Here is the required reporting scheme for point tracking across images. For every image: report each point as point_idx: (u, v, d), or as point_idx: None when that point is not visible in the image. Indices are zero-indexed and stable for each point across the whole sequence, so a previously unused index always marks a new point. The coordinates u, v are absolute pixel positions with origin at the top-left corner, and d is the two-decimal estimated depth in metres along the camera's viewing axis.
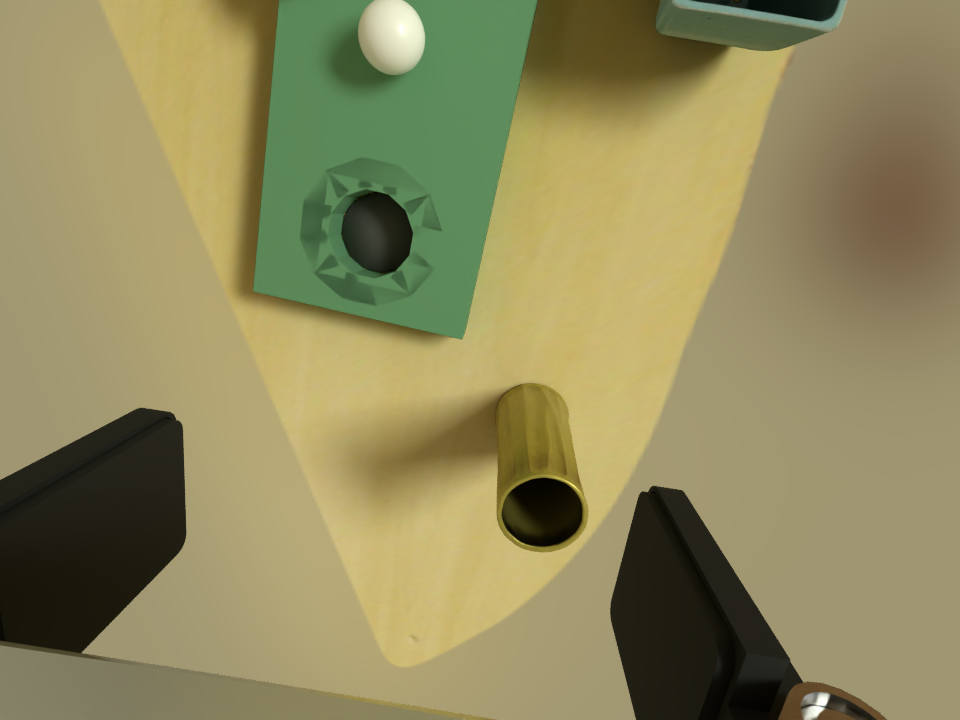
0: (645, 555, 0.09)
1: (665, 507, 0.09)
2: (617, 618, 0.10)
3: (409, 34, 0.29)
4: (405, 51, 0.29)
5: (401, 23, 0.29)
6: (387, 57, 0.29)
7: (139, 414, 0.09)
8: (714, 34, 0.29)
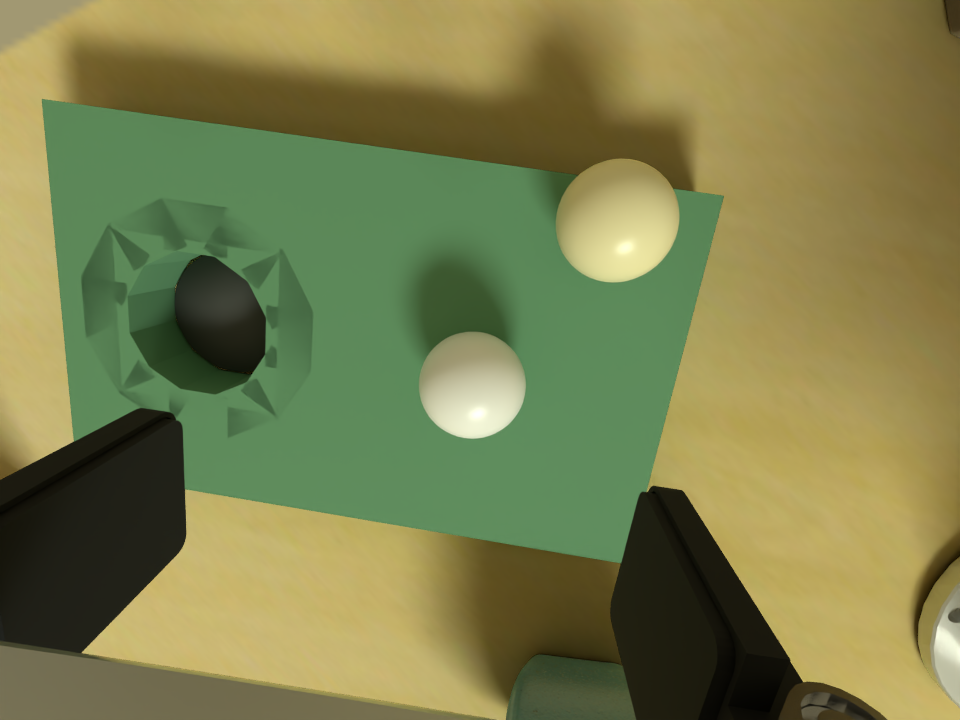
0: (645, 555, 0.09)
1: (665, 507, 0.09)
2: (618, 618, 0.10)
3: (463, 433, 0.18)
4: (440, 424, 0.18)
5: (474, 426, 0.17)
6: (428, 398, 0.18)
7: (139, 414, 0.09)
8: None
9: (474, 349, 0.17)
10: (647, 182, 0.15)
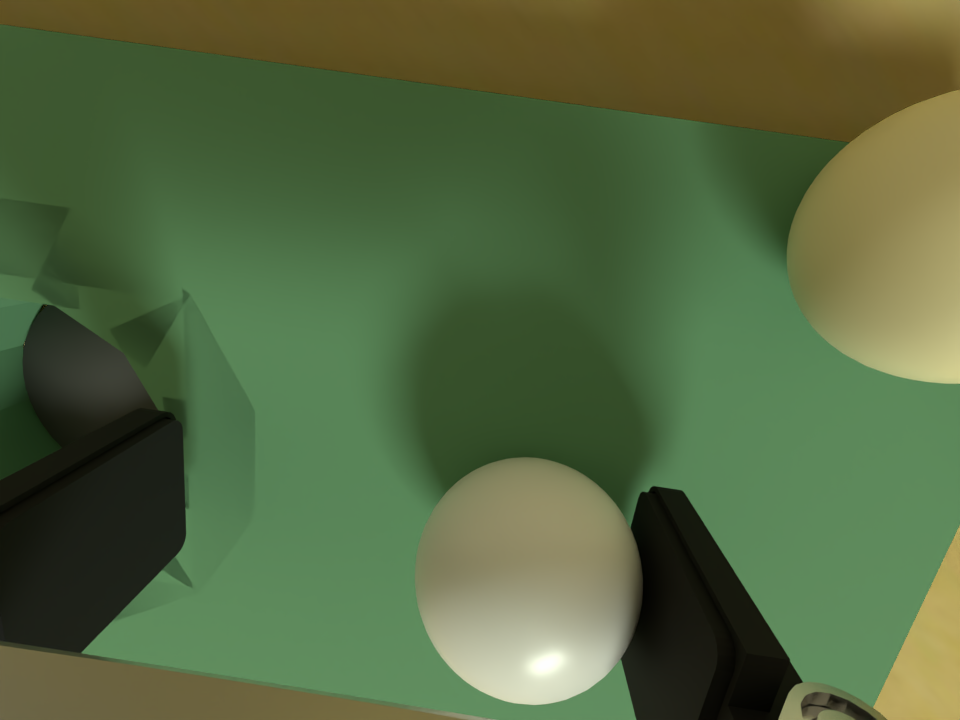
0: (645, 555, 0.09)
1: (665, 507, 0.09)
2: None
3: (474, 685, 0.08)
4: None
5: (488, 690, 0.08)
6: (415, 588, 0.09)
7: (139, 414, 0.09)
8: None
9: (509, 516, 0.08)
10: None
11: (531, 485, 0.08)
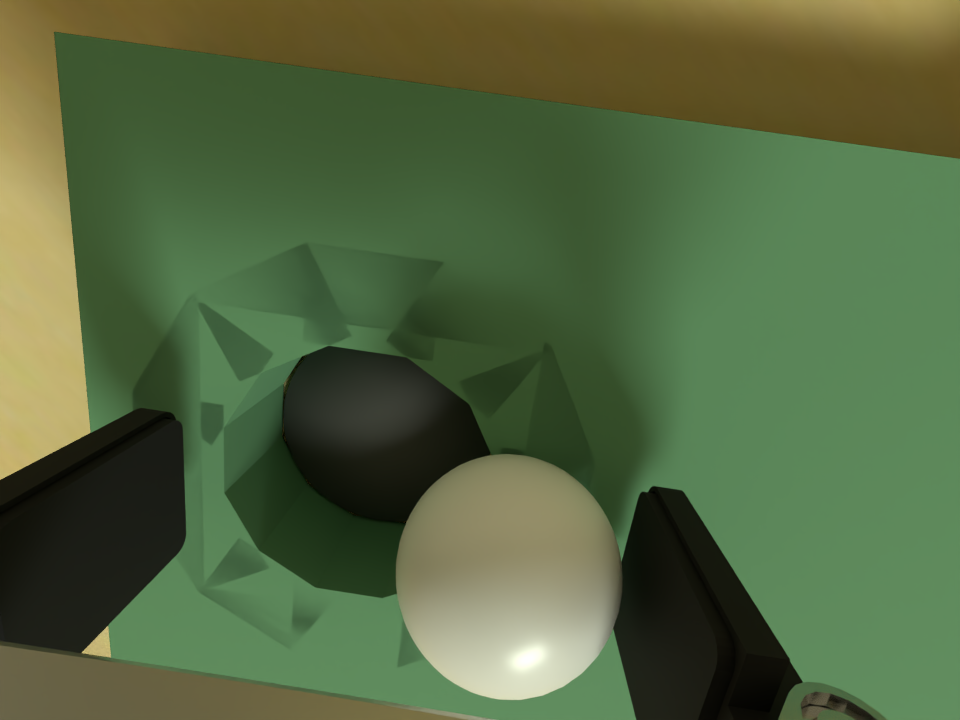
0: (645, 555, 0.09)
1: (665, 507, 0.09)
2: (618, 618, 0.10)
3: None
4: None
5: None
6: None
7: (139, 414, 0.09)
8: None
9: (557, 468, 0.09)
10: None
11: (541, 464, 0.09)
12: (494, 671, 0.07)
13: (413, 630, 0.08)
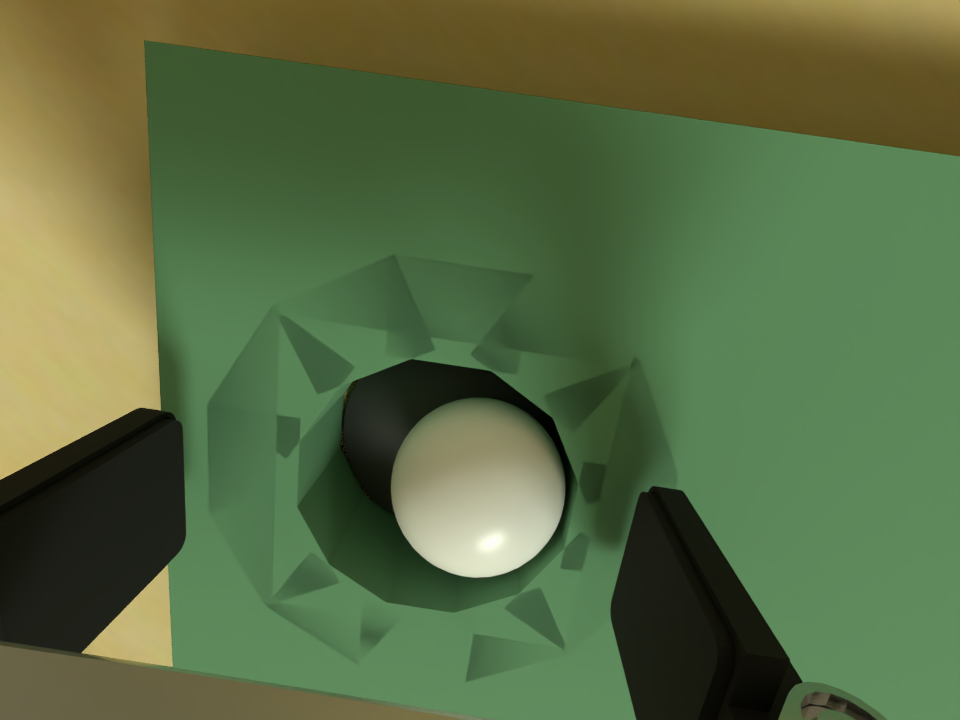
0: (645, 555, 0.09)
1: (665, 507, 0.09)
2: (617, 618, 0.10)
3: None
4: (485, 575, 0.11)
5: (540, 549, 0.11)
6: (478, 549, 0.10)
7: (139, 414, 0.09)
8: None
9: (525, 438, 0.10)
10: None
11: (505, 415, 0.11)
12: None
13: None
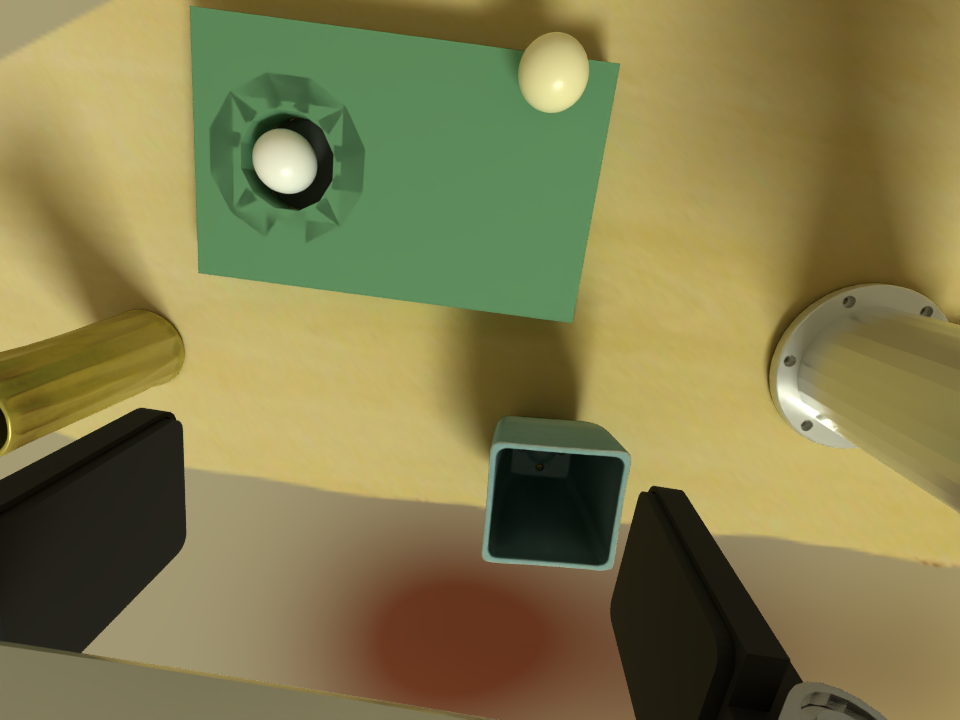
0: (645, 555, 0.09)
1: (665, 507, 0.09)
2: (617, 618, 0.10)
3: (280, 183, 0.32)
4: (267, 179, 0.32)
5: (286, 176, 0.32)
6: (257, 162, 0.32)
7: (139, 414, 0.09)
8: None
9: (281, 132, 0.31)
10: (568, 41, 0.27)
11: (284, 129, 0.32)
12: None
13: None
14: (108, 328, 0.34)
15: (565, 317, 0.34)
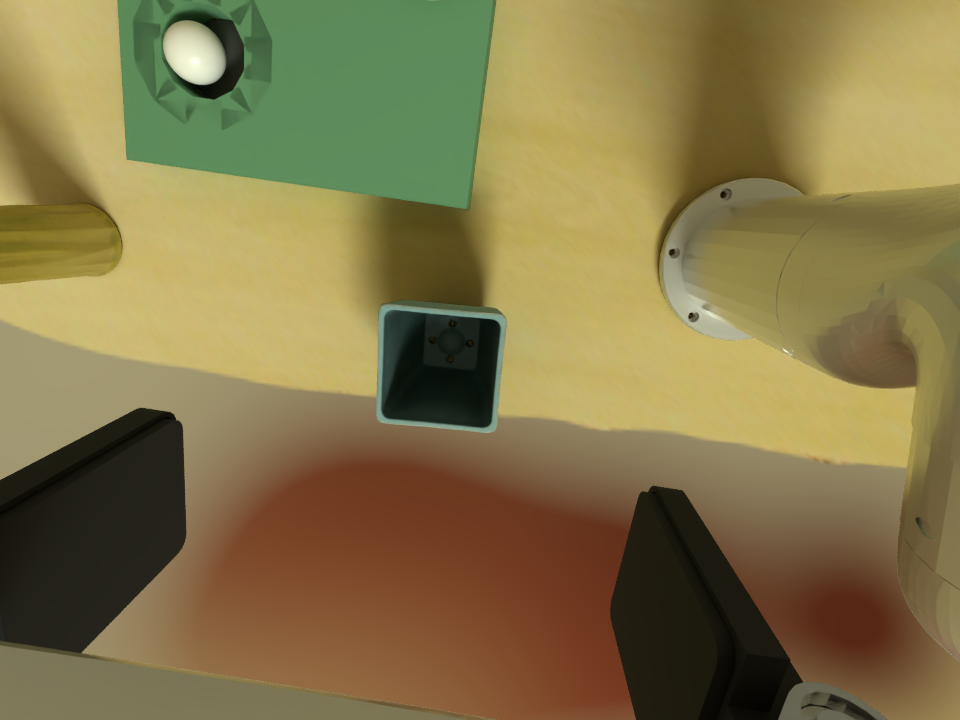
0: (645, 555, 0.09)
1: (665, 507, 0.09)
2: (617, 618, 0.10)
3: (182, 68, 0.35)
4: (172, 66, 0.35)
5: (183, 60, 0.35)
6: (163, 49, 0.35)
7: (139, 414, 0.09)
8: None
9: (183, 21, 0.35)
10: None
11: (189, 20, 0.35)
12: None
13: None
14: (44, 208, 0.38)
15: (460, 203, 0.37)
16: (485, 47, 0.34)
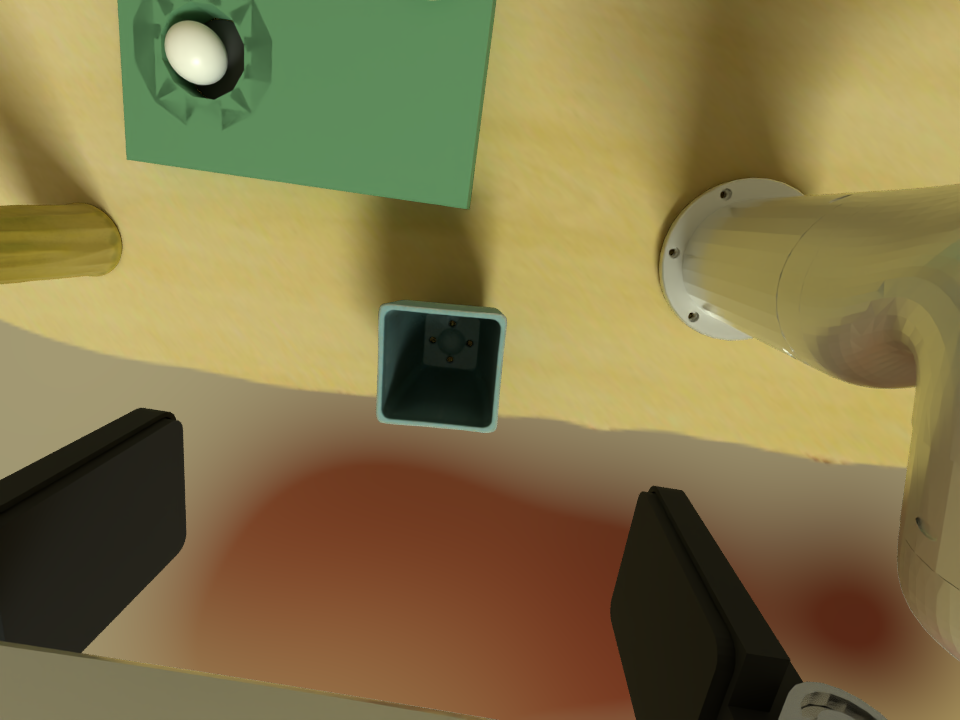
0: (645, 555, 0.09)
1: (665, 507, 0.09)
2: (618, 618, 0.10)
3: (184, 69, 0.35)
4: (174, 66, 0.35)
5: (186, 61, 0.35)
6: (165, 49, 0.35)
7: (139, 414, 0.09)
8: None
9: (185, 21, 0.35)
10: None
11: None
12: None
13: None
14: (44, 208, 0.38)
15: (460, 203, 0.37)
16: (485, 47, 0.34)
